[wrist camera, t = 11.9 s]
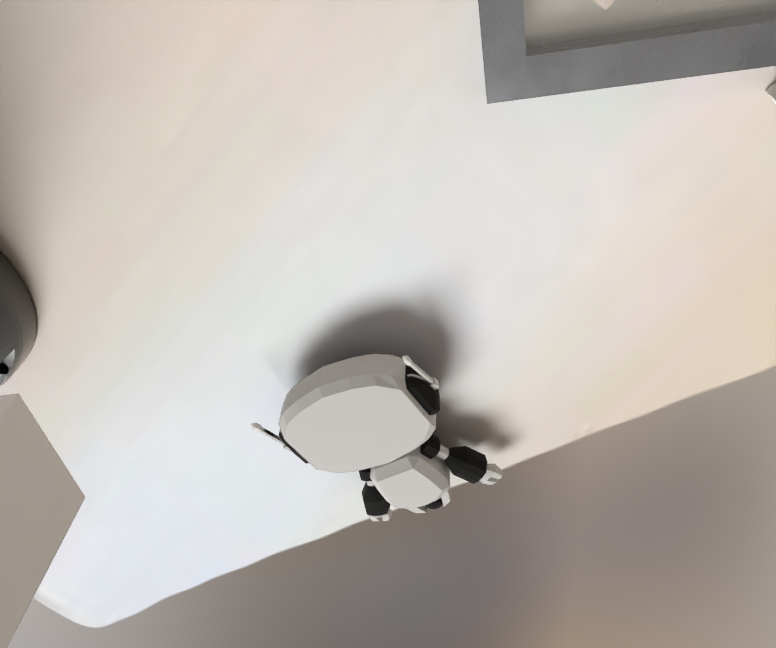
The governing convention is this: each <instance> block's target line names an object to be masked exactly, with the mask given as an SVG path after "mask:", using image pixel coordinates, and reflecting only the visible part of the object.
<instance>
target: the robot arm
mask: <svg viewBox="0 0 776 648" xmlns="http://www.w3.org/2000/svg"><path fill="white" fill-rule="evenodd" d="M35 337H36V316H35V311H34V307H33V304H32V301H31V298H30V296H29V293H28V291H27V289H26V287H25V285H24V283H23V282H22V280H21V278H20V277H19V275H18V274H17V272H16V271H15V269H14V268H13V267H12V265H11V264H10V263H9V262H8V260H7V259H6V258H5V257H4V256H3V255H2V254H1V253H0V386H1V385H2V384H4V383H5V382H6V381H7V380H8V379H9V378H10V377H11V376H12V375H13V374H14V372H15V371H16V370H17V369H18V367H19V366H20V365H21V364H22V363H23V361H24V360H25V359H26V358H27V356H28V355H29V353H30V351H31V349H32V347H33V345H34V341H35ZM84 499H85V496H84V494H83V493H82V491H81V490H80V488H79V487H78V485H77V483H76V482H75V480H74V479H73V477H72V476H71V474H70V473H69V471H68V469H67V468H66V466H65V465H64V463H63V462H62V460H61V459H60V457H59V456H58V454H57V452H56V451H55V449H54V448H53V446H52V445H51V443H50V442H49V440H48V438H47V437H46V435H45V434H44V432H43V431H42V429H41V428H40V426H39V424H38V423H37V421H36V420H35V418H34V417H33V415H32V414H31V412H30V411H29V409H28V407H27V406H26V404H25V403H24V401H23V400H22V398H21V397H20V395H19V394H11V395H2V396H0V648H7V647H8V645H9V643H10V641H11V639H12V637H13V636H14V634H15V632H16V630H17V628H18V626H19V624H20V622H21V620H22V618H23V616H24V614H25V612H26V611H27V608H28V607H29V605H30V603H31V601H32V599H33V597H34V595H35V593H36V591H37V589H38V587H39V585H40V584H41V582H42V580H43V578H44V576H45V574H46V572H47V570H48V568H49V566H50V564H51V562H52V560H53V558H54V557H55V555H56V553H57V551H58V549H59V547H60V545H61V543H62V541H63V539H64V537H65V535H66V533H67V531H68V530H69V528H70V526H71V524H72V522H73V520H74V518H75V516H76V514H77V512H78V510H79V508H80V506H81V504H82V503H83V501H84Z"/></svg>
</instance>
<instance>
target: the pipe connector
mask: <svg viewBox="0 0 776 648" xmlns="http://www.w3.org/2000/svg"><path fill="white" fill-rule="evenodd" d="M594 1H595V2H596V3H597V4H598V5H599V6H601V7H602V8H604V9H605V10H606V9H608V7H609V6H610V5H611V4H612V3H613V2H614V1H615V0H594Z"/></svg>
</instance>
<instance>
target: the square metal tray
mask: <svg viewBox="0 0 776 648" xmlns="http://www.w3.org/2000/svg"><path fill="white" fill-rule="evenodd" d="M478 3H479V15H480V26H481V38H482V49H483V61H484V73H485V84H486V96H487V104H489V103H497V102H504V101H512V100H519V99H527V98H534V97H542V96H550V95H557V94H565V93H572V92H580V91H587V90H595V89H602V88H610V87H618V86H625V85H633V84H640V83H648V82H655V81H663V80H670V79H678V78H685V77H693V76H701V75H708V74H716V73H723V72H731V71H738V70H746V69H753V68H761V67H768V66H776V0H615V1H614V2H613V3H612V4H611V5H610V6H609V7H608V9H606V10H605V9H604V8H602V7H601V6H599V5H598V4H597V3H596V2H595V1H594V0H478Z"/></svg>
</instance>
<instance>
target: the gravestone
mask: <svg viewBox="0 0 776 648" xmlns="http://www.w3.org/2000/svg"><path fill="white" fill-rule="evenodd" d="M765 91H766V93H767V94H768V95H769V96H770V98H771V99H772V100H773V102H774V103H775V104H776V82H775V83H774V84H772V85H771V86H770V87H768V88H767V89H766V90H765Z"/></svg>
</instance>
